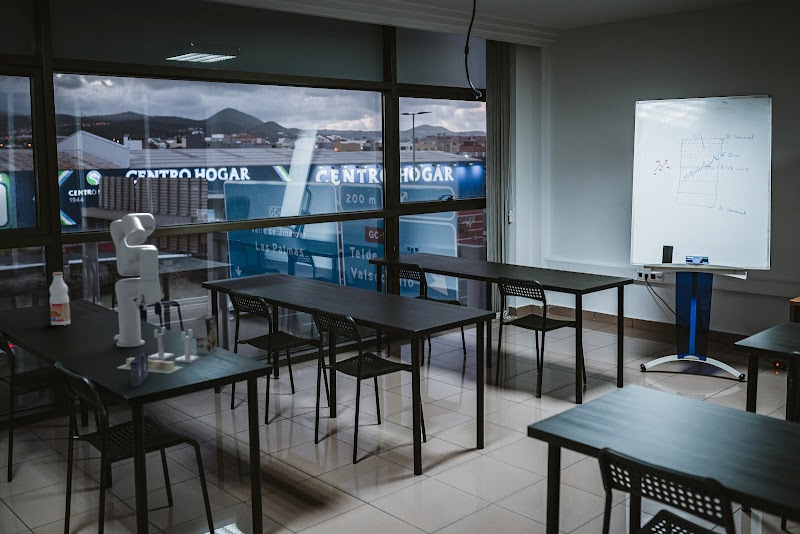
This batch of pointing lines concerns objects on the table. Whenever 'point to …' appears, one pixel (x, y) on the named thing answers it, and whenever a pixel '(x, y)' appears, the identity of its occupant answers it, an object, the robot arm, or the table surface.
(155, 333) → the standard left
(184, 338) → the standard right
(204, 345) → the coffee box
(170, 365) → the birch rail
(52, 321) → the fruit juice
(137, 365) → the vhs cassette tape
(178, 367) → the sage mat
